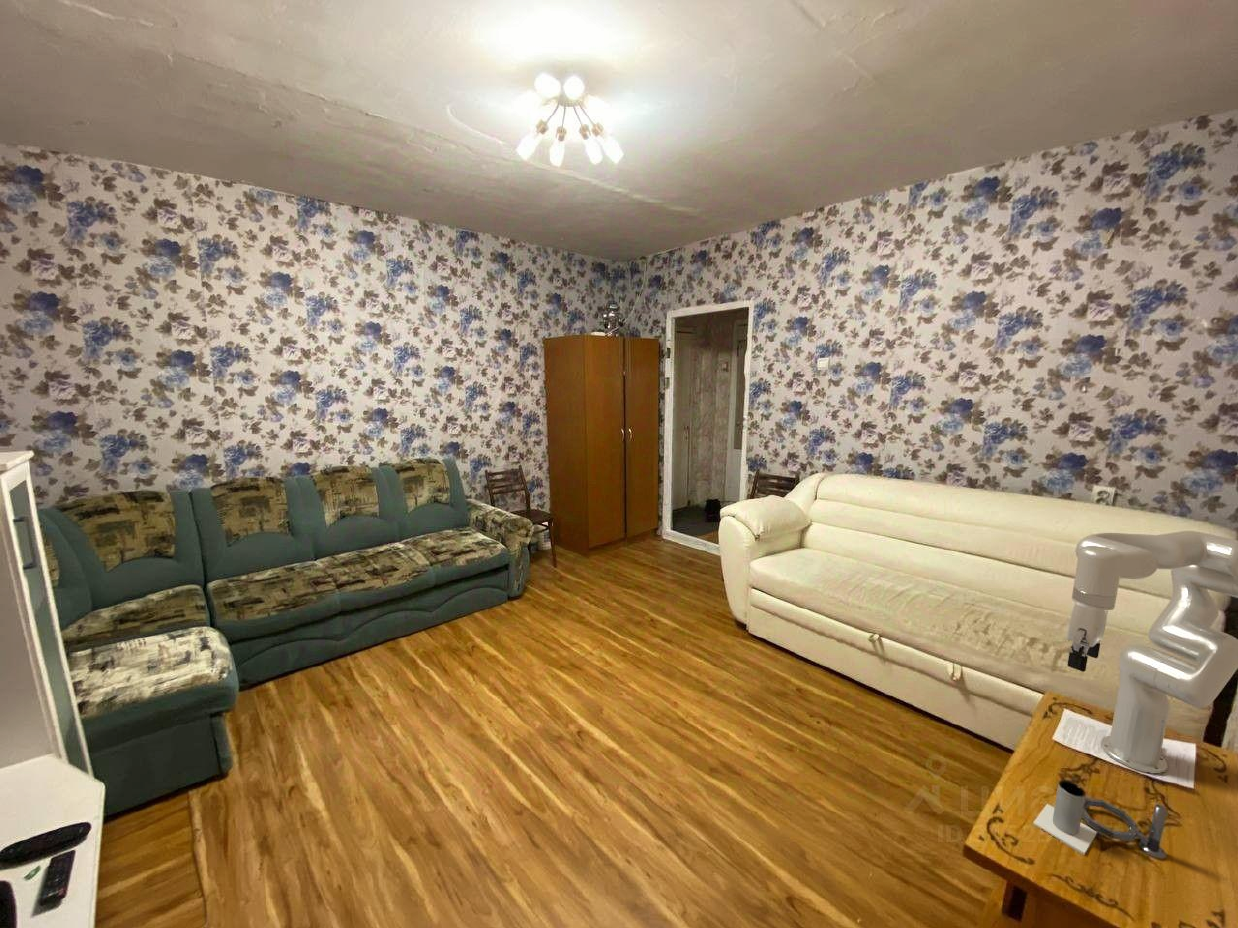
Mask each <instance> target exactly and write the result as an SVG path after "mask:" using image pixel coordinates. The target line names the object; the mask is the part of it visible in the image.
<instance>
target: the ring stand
mask: <svg viewBox="0 0 1238 928" xmlns="http://www.w3.org/2000/svg"><path fill="white" fill-rule="evenodd" d="M1090 807H1097V808H1102V809H1104V810H1106V811H1108V812H1110V813H1112V814H1114V815H1115V816H1117V817H1119V818H1121V819H1122V820H1123V821H1124V822H1125V824H1126V825H1128V828H1129V829H1128V831H1121V830H1116V829H1115V830H1114V829H1113V830H1112V829H1111V828H1110V827H1107V826H1105V825H1103V824H1102V823H1100V822H1098V821H1096V820H1094V819H1093V818H1092V817H1091V815H1089V813H1088V812H1087V811H1090ZM1153 808H1154V809H1153V812H1152V813H1153V814H1152V818H1151V823H1150V829H1149V832H1148V835H1145V834H1144V833H1142V832H1140V831H1139V829H1140V826H1139V825H1138V824H1137V823H1136V822H1135V821H1134V820H1133V819H1132V817H1131V816H1129V815H1128V813H1127V811H1125V810H1123V809H1121V808H1119V807H1117V806H1115V805H1113V804H1111V803H1109V802H1107V801H1106V800H1103V799H1099V798H1092V797H1091V798H1090V797H1085V801H1084V806H1083V812H1082V818H1081V819H1083V820H1084V822H1085V823H1086V825H1087V826H1088V827H1090V828H1092V829H1093V830H1095V831H1097V834H1096V836H1098V837H1101V838H1103V834H1104V835H1105V836H1107V837H1109V838H1111V839H1113V840H1121V841H1127V842H1135V839H1136V838H1138V840H1139V839H1140V841H1139V843H1138V846H1139V848H1140V849H1141V851H1142V852H1143V853H1145V854H1146V855H1148V856H1150V857H1152V858H1154V859H1157V860H1165V859H1166V857H1167V853H1166V851H1165V850H1164V849H1163V848H1162V847H1160V845H1161V842H1162V837H1163V833H1164V829H1165V828H1164V827H1165V823H1166V818H1167V814H1168V809H1167V807H1165V806H1163V805H1161V804H1157V803H1156V804H1154V807H1153Z"/></svg>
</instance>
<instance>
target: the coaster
mask: <svg viewBox="0 0 1238 928" xmlns="http://www.w3.org/2000/svg"><path fill="white" fill-rule="evenodd" d="M1054 808H1055V806H1053V805H1050V804H1048V803H1046V805H1045V806H1043V809H1042V810H1041V811H1040V812H1039V814H1038V815H1037V817H1036V818H1035V819H1034V820H1033V823H1032V825H1033V826H1034V827H1036V826H1037V827H1036V828H1038V827H1039V828H1041V829H1043V830H1044V831H1046V832H1048V833H1049V834H1051V835H1052V836H1051V835H1050V836H1051V837H1053V836H1054V837H1056V838H1057V839H1056V838H1055V839H1056V840H1058V839H1059V840H1060V841H1059V840H1058V841H1059V842H1061V843H1063V844H1064V845H1066V846H1068V847H1069V848H1071V849H1073V850H1074V851H1076V852H1078V853H1079V854H1081V855H1083V856H1085V855H1086V853H1087V851H1088V850H1089V848H1090V846H1091V845H1092V843H1093V841H1094V839H1095V837H1096V836H1097V834H1098V830H1096V829H1094V828H1093V827H1091V826H1089V825H1087V824H1084V823H1082V822H1081V823H1080V829H1079V833H1078V834H1077V835H1070V834H1067V833H1065V832H1063V831H1061V830H1060V829H1058V828H1057V827H1056V826H1055V825H1054V823H1053V814H1054ZM1039 828H1038V829H1039ZM1041 829H1040V830H1041ZM1043 830H1042V831H1043ZM1044 831H1043V832H1044ZM1046 832H1045V833H1046ZM1048 833H1047V834H1048ZM1049 834H1048V835H1049ZM1054 837H1053V838H1054Z"/></svg>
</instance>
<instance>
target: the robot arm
mask: <svg viewBox="0 0 1238 928" xmlns="http://www.w3.org/2000/svg"><path fill="white" fill-rule="evenodd" d="M1074 552H1075V556H1076V557H1077V561H1076V562H1077V563H1076V568H1075V575H1074V580H1073V581H1074V582H1073V588H1072V594H1071V600H1072V602H1074V605H1073V608H1072V612H1071V615H1070V620H1069V622H1068V623H1069V624H1068V627H1067V628H1068V629H1067V633H1066V640H1067V641H1069V642H1071V641H1072V643H1071V647H1070V648H1069V653H1068V658H1067V659H1068V660H1067V663H1066V665H1067V666H1068V668H1072V669H1075V670H1077V671H1080V672H1082V673H1084V672H1085V671H1086V670H1087V663H1088V658H1089V657H1090V658H1094V659H1098V658H1099V653H1100V647H1101V639H1102V638H1103V636H1104V634H1105V630H1106V626H1107V619H1108V614H1109V612H1108V611H1112V610H1115V608H1116V603H1117V602H1116V601H1117V595H1118V592H1119V591H1118V590H1119V584H1120V580H1121V579H1126V580H1128V579H1129V580H1143V579H1145V578H1149V577H1151V576H1152V575H1154V574H1155V573H1156V571H1157V570H1170V575H1171V581H1172V597H1171V599H1170V601H1168V603H1167V605H1166V606H1165V607H1164V609H1163V610H1162V612H1161V613H1160V614H1159V615H1158V617H1157V618H1156V619H1155V621H1154V622H1153V623H1152V625H1151V626H1150V628H1149V631H1148V635H1147V636H1148V639H1149V641H1150V642H1151V643H1152V644H1153V645H1155V646H1156V647H1158V648H1160V649H1162V650H1164V651H1166V652H1168V653H1171V654H1174V655H1176V656H1178V657H1181V658H1184V659H1186V660H1189V661H1191V662H1194V663H1196V664H1197V665H1195V664H1192V663H1189V662H1188V661H1185V660H1183V659H1180V658H1178V657H1176V656H1173V655H1171V654H1168V653H1165V652H1163V651H1161V650H1157V649H1156V648H1153V647H1149V646H1146V645H1141V644H1130V645H1127V646H1125V647H1123V648H1122V649H1121V650H1120V653H1119V656H1118V668H1119V687H1118V690H1117V698H1116V703H1115V707H1114V708H1115V709H1114V713H1113V718H1112V719H1113V720H1112V724H1111V730H1110V735H1106V736H1104V737H1102V738H1101V740H1100V746H1101V749H1102V750H1103V751H1104V752H1105V754H1107V755H1108V756H1110V757H1111V758H1112V759H1113V760H1115V761H1116V762H1119V763H1121V764H1122V765H1124V766H1126V767H1129V768H1131V769H1134V770H1136V771H1140V772H1143V773H1147V772H1150V773H1149V774H1154V773H1159V774H1163V773H1162V772H1164V773H1165V772H1166V771H1167V769H1168V763H1167V761H1166V759H1164V757H1163V756H1161V753H1162V748H1163V745H1164V744H1163V743H1164V738H1165V734H1166V728H1167V723H1168V720H1169V716H1170V711H1171V710H1170V709H1171V707H1170V706H1171V705H1170V704H1171V703H1170V701H1169V698H1168V696H1170V697H1171V698H1174V699H1175V700H1178V701H1181V702H1182V703H1184V704H1187V705H1189V706H1192V707H1196V708H1205V707H1207V706H1209V705H1210V704H1211V703H1213V702H1214V701H1215V699H1217V697H1218V696H1219V694H1220V693H1221V692H1222V691H1223V689H1224V688H1225V686H1226V685H1227V683H1228V682H1229V681H1230V680H1231V678H1232V677H1233V675H1234V674H1235V673H1236V671H1237V670H1238V638H1236V637H1234V636H1233V635H1230V634H1229V633H1226V632H1223V631H1220V630H1218V629H1214V628H1212V626H1213V624H1215V622H1216V620H1217V619H1218V617H1219V613H1220V612H1219V609H1218V606H1217V604H1216V602H1215V600H1214V598H1213V597H1212V595H1211V594H1210V592H1209V591H1212V592H1216V593H1219V594H1222V595H1226V596H1230V597H1232V598H1236V599H1238V540H1237V539H1233V538H1229V537H1224V536H1219V535H1215V534H1209V533H1205V532H1200V531H1194V530H1183V531H1176V532H1175V531H1174V532H1169V533H1163V534H1162V533H1161V534H1155V535H1154V534H1142V533H1140V534H1139V533H1124V532H1122V533H1121V532H1102V533H1101V532H1099V533H1094V534H1090V535H1086V536H1085V537H1083V538H1082V539H1080V540H1079V542H1078V543H1077V544H1076V546H1075V551H1074ZM1208 590H1209V591H1208ZM1160 772H1161V773H1160Z"/></svg>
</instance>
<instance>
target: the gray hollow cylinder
mask: <svg viewBox="0 0 1238 928" xmlns="http://www.w3.org/2000/svg"><path fill="white" fill-rule="evenodd" d="M1086 795H1087V794H1086V792H1085V790H1084V789H1083V787H1081V786H1080V785H1079V784H1077V783H1074V782H1073V781H1070V780H1066V779H1065V780H1060V781H1058V785H1057V791H1056V797H1055V804H1054V814H1053V823H1054V825H1055V826H1056V827H1057V828H1058V829H1060V830H1061V831H1063V832H1065V833H1067V834H1070V835H1077V834H1078V833H1079V829H1080V823H1082V819H1083V818H1082V812H1083V806H1084V801H1085V798H1086Z"/></svg>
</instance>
